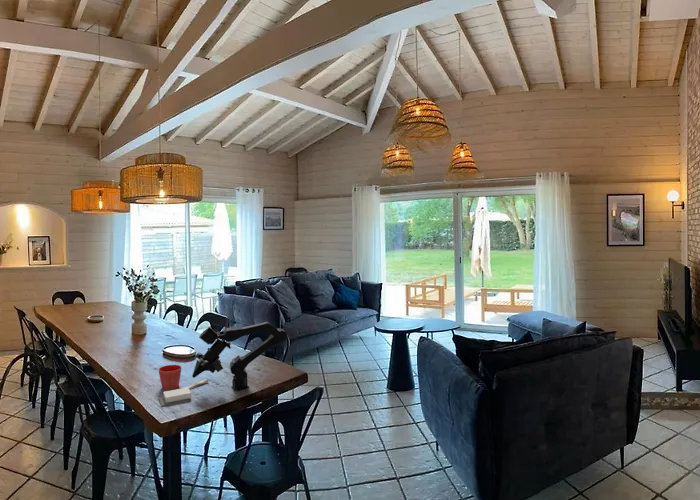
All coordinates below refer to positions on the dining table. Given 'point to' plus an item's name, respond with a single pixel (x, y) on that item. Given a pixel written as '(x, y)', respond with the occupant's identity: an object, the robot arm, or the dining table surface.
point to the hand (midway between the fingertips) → (193, 377)
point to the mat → (163, 403)
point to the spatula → (197, 384)
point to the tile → (177, 395)
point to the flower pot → (170, 376)
